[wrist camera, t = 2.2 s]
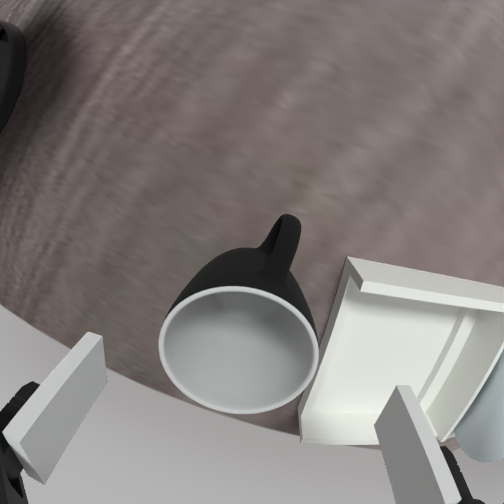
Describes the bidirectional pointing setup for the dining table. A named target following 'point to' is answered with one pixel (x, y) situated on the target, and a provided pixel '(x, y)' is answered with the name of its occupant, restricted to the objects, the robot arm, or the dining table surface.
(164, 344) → the mug
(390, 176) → the dining table surface
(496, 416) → the plate in rack
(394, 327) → the dish rack
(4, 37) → the robot arm
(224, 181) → the dining table surface
